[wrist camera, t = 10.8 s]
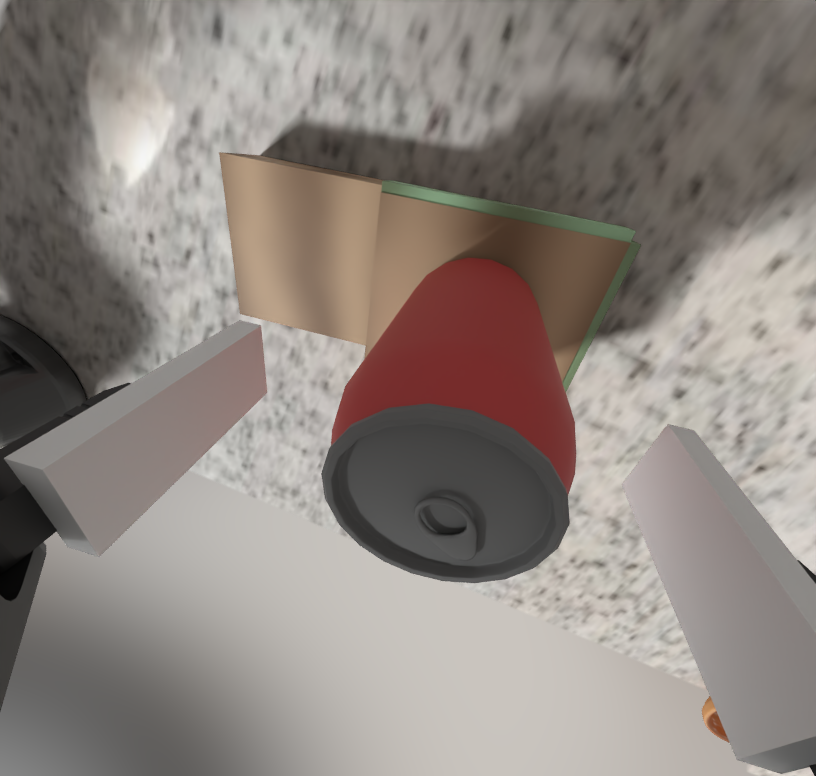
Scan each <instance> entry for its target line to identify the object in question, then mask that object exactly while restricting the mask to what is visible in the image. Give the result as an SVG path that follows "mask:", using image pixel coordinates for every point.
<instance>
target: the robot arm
mask: <svg viewBox="0 0 816 776" xmlns="http://www.w3.org/2000/svg"><path fill="white" fill-rule="evenodd" d="M266 393H267V385H266V374H265V364H264V353H263V342H262V331H261V325H257V324H253V323H249V322H245V321H241V320H239V321H238V322H236V323H234V324H232V325H231V326H229V327H227V328H226V329H224V330H222V331H220V332H219V333H217V334H215V335H214V336H212V337H210V338H208V339H207V340H205V341H203V342H202V343H200V344H198V345H196V346H195V347H193V348H191V349H190V350H188V351H186V352H184V353H183V354H181V355H179V356H178V357H176V358H174V359H172V360H171V361H169V362H167V363H166V364H164V365H162V366H161V367H159V368H157V369H155V370H154V371H152V372H150V373H149V374H147V375H145V376H143V377H142V378H140V379H138V380H137V381H135V382H133V383H126V384H123V385H120V386H117V387H114V388H111V389H108V390H105V391H103V392H101V393H99V394H97V395H96V396H94V397H92V398H90V399H88V400H87V401H86V397H85V394H84V391H83V389H82V387H81V385H80V383H79V381H78V380H77V378H76V376H75V375H74V373H73V372H72V371H71V369H70V368H69V367H68V365H67V364H66V363H65V362H64V361H63V360H62V358H61V357H60V356H59V355H58V354H57V353H56V352H55V351H54V350H53V349H52V348H51V347H50V346H48V345H47V344H46V343H45V342H44V341H43V340H41V339H40V338H39V337H38V336H36V335H35V334H34V333H32V332H31V331H29V330H28V329H26V328H25V327H23V326H21V325H20V324H18V323H16V322H14V321H12V320H10V319H8V318H5V317H3V316H0V448H1V449H0V711H1V707H2V704H3V700H4V697H5V693H6V690H7V686H8V683H9V680H10V676H11V673H12V669H13V666H14V662H15V659H16V655H17V653H18V649H19V646H20V642H21V639H22V635H23V632H24V628H25V625H26V622H27V618H28V615H29V612H30V608H31V605H32V601H33V598H34V594H35V591H36V587H37V584H38V581H39V577H40V574H41V571H42V567H43V563H44V560H45V557H46V545H45V544H44V543H43V542H44V541H45V540H46V539H47V538H49V537H50V536H51V535H52V534H53V533H55V532H56V531H57V533H58V534H59V536H60V537H61V538H62V540H63V541H64V543H65V544H66V545H67V547H69V548H72V549H75V550H78V551H82V552H85V553H88V554H91V555H94V556H97V557H100V556H101V555H102V554H103V553H104V552H105V551H106V550H107V549H108V548H109V547H110V546H111V545H112V544H113V543H114V542H115V541H116V540H117V539H118V538H119V537H120V536H121V535H122V534H123V533H124V532H125V531H126V530H127V529H128V528H129V527H130V526H131V525H132V524H133V523H134V522H135V521H137V519H139V517H140V516H142V515H143V514H144V513H145V512H146V511H147V510H148V509H149V508H150V507H151V506H152V505H153V504H154V503H155V502H156V501H157V500H158V499H159V498H160V497H161V496H162V495H163V494H164V493H165V492H166V491H167V490H168V489H169V488H170V487H171V486H172V485H173V484H174V483H175V482H176V481H177V480H178V479H179V478H180V477H181V476H182V475H183V474H184V473H186V471H188V470H189V469H190V468H191V467H192V466H193V465H194V464H195V463H196V462H197V461H198V460H199V459H200V458H201V457H202V456H203V455H204V454H205V453H206V452H207V451H208V450H209V449H210V448H211V447H212V446H213V445H214V444H215V443H216V442H217V441H218V440H219V439H220V438H221V437H222V436H223V435H224V434H225V433H226V432H227V431H228V430H229V429H230V428H231V427H232V426H234V425H235V424H236V423H237V422H238V421H239V420H240V419H241V418H242V417H243V416H244V415H245V414H246V413H247V412H248V411H249V410H250V409H251V408H252V407H253V406H254V405H255V404H256V403H257V402H258V401H259V400H260V399H261V398H262V397H263V396H264V395H265V394H266ZM2 447H3V448H2ZM622 487H623V489H624V492H625V494H626V497H627V499H628V501H629V504H630V506H631V509H632V511H633V513H634V516H635V518H636V520H637V523H638V525H639V528H640V530H641V532H642V535H643V537H644V540H645V542H646V544H647V547H648V549H649V551H650V554H651V556H652V559H653V561H654V563H655V566H656V568H657V571H658V573H659V575H660V578H661V580H662V582H663V585H664V587H665V590H666V592H667V594H668V597H669V599H670V601H671V604H672V606H673V609H674V611H675V613H676V616H677V618H678V621H679V623H680V625H681V628H682V630H683V632H684V635H685V637H686V640H687V642H688V644H689V647H690V649H691V652H692V654H693V656H694V659H695V661H696V663H697V666H698V668H699V671H700V673H701V675H702V678H703V680H704V683H705V685H706V687H707V690H708V692H709V694H710V697H711V699H712V702H713V704H714V706H715V709H716V711H717V714H718V716H719V718H720V721H721V723H722V725H723V728H724V730H725V733H726V735H727V737H728V740H729V742H730V745H731V747H732V749H733V752H734V754H735V756H736V759H737V760H739V761H743V762H746V763H749V764H752V765H755V766H758V767H761V768H764V769H768V770H771V771H774V772H777V773H780V774H782V773H787V772H791V771H795V770H799V769H803V768H807V767H810V768H811V770H812V772H813V773H814V775H815V776H816V575H814V574H813V573H812V572H811V571H810V570H809V569H808V568H807V567H806V566H804V565H803V564H802V563H801V562H800V561H799V560H796V558H795V557H794V556H793V555H792V553H791V552H790V551H789V550H788V548H787V547H786V546H785V544H784V543H783V542H782V541H781V539H780V538H779V537H778V536H777V534H776V533H775V532H774V531H773V529H772V528H771V527H770V525H769V524H768V523H767V522H766V520H765V519H764V518H763V517H762V515H761V514H760V513H759V512H758V510H757V509H756V508H755V507H754V505H753V504H752V503H751V501H750V500H749V499H748V498H747V496H746V495H745V494H744V493H743V491H742V490H741V489H740V488H739V486H738V485H737V484H736V483H735V481H734V480H733V479H732V477H731V476H730V475H729V474H728V472H727V471H726V470H725V469H724V467H723V466H722V465H721V464H720V462H719V461H718V460H717V459H716V457H715V456H714V455H713V453H712V452H711V451H710V450H709V448H708V447H707V446H706V445H705V443H704V442H703V441H702V440H701V438H700V437H699V436H698V435H697V433H696V432H695V431H694V430H690V429H686V428H682V427H678V426H674V425H669V424H668V425H667V426H666V427H665V429H664V430H663V431H662V432H661V434H660V435H659V436H658V438H657V439H656V440H655V442H654V443H653V444H652V445H651V447H650V448H649V449H648V451H647V452H646V453H645V455H644V456H643V457H642V459H641V460H640V461H639V462H638V464H637V465H636V466H635V468H634V469H633V470H632V472H631V473H630V474H629V475H628V477H627V478H626V479H625V481H624V482H623V483H622Z"/></svg>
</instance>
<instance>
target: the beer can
mask: <svg viewBox="0 0 816 776" xmlns="http://www.w3.org/2000/svg"><path fill="white" fill-rule="evenodd" d="M575 464H576V440H575V421H574V418H573V415H572V412H571V409H570V405H569V402H568V399H567V396H566V393H565V390H564V386H563V383H562V380H561V377H560V374H559V370H558V367H557V364H556V361H555V358H554V354H553V351H552V348H551V345H550V342H549V338H548V335H547V332H546V329H545V326H544V323H543V319H542V316H541V313H540V310H539V307H538V304H537V301H536V299H535V297H534V295H533V293H532V291H531V289H530V287H529V285H528V284H527V283H526V282H525V281H524V280H523V279H522V278H521V277H520V276H519V275H518V274H517V273H516V272H515V271H514V270H513V269H511V268H509V267H507V266H504V265H502V264H500V263H498V262H495V261H493V260H490V259H479V258H464V259H460V260H456V261H452V262H448V263H445V264H443V265H442V266H440V267H438V268H437V269H435V270H434V271H432V272H430V273H429V274H427V275H426V276H425V278H424V279H423V280H422V281H421V283H420V284H419V285H418V286H417V287H416V289H415V290H414V291H413V292H412V294H411V295H410V297H409V298H408V299H407V301H406V302H405V304H404V305H403V306H402V308H401V309H400V311H399V312H398V313H397V315H396V316H395V318H394V319H393V320H392V322H391V323H390V325H389V326H388V327H387V329H386V330H385V332H384V333H383V334H382V336H381V337H380V339H379V340H378V341H377V343H376V344H375V346H374V347H373V348H372V350H371V351H370V353H369V354H368V355H367V357H366V358H365V360H364V361H363V362H362V364H361V365H360V366H359V368H358V369H357V371H356V372H355V373H354V375H353V376H352V378H351V379H350V380H349V382H348V383H347V385H346V386H345V389H344V393H343V396H342V399H341V402H340V405H339V409H338V412H337V415H336V419H335V422H334V426H333V429H332V441H331V447H330V448H329V451H328V454H327V457H326V461H325V464H324V467H323V470H322V480H323V488H324V495H325V499H326V501H327V503H328V505H329V506H330V508H331V510H332V512H333V514H334V516H335V517H336V519H337V521H338V523H339V525H340V526H341V527H342V528H343V529H344V530H345V531H346V532H347V533H348V534H349V535H350V536H351V537H352V538H353V539H354V540H355V541H356V542H357V543H358V544H359V545H360V546H362V547H363V548H365V549H366V550H368V551H369V552H371V553H372V554H374V555H375V556H377V557H378V558H380V559H381V560H383V561H385V562H387V563H389V564H391V565H394V566H396V567H399V568H401V569H403V570H406V571H408V572H410V573H413V574H417V575H421V576H425V577H429V578H433V579H437V580H441V581H451V582H466V583H479V582H487V581H495V580H503V579H507V578H510V577H512V576H515V575H517V574H520V573H523V572H525V571H528V570H530V569H533V568H534V567H536V566H537V565H538V564H540V563H541V562H542V561H543V560H544V559H546V558H547V557H548V556H549V555H550V554H552V553H553V552H554V551H555V550H556V549H558V547H559V545H560V543H561V541H562V539H563V536H564V534H565V532H566V530H567V528H568V526H569V524H570V523H569V508H568V494H569V491H570V488H571V485H572V481H573V478H574V475H575Z"/></svg>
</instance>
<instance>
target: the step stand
mask: <svg viewBox="0 0 816 776" xmlns="http://www.w3.org/2000/svg"><path fill="white" fill-rule="evenodd" d="M219 154H220V161H221V169H222V177H223V185H224V192H225V200H226V208H227V216H228V223H229V231H230V239H231V247H232V254H233V262H234V270H235V278H236V285H237V293H238V301H239V309H240V314H243V315H247V316H251V317H255V318H259V319H263V320H267V321H271V322H275V323H279V324H282V325H286V326H290V327H294V328H298V329H302V330H306V331H310V332H314V333H318V334H322V335H326V336H330V337H334V338H338V339H342V340H346V341H350V342H354V343H358V344H362V345H366V348H365V358H366V357H367V355H368V354H369V353H370V351H371V350H372V348H373V347H374V346H375V344H376V343H377V341H378V340H379V339H380V337H381V336H382V334H383V333H384V332H385V330H386V329H387V327H388V326H389V325H390V323H391V322H392V320H393V319H394V318H395V316H396V315H397V313H398V312H399V311H400V309H401V308H402V306H403V305H404V304H405V302H406V301H407V299H408V298H409V297H410V295H411V294H412V292H413V291H414V290H415V289H416V287H417V286H418V285H419V284H420V283H421V281H422V280H423V279H424V278H425V276H426V275H427V274H429V273H430V272H432V271H434V270H435V269H437V268H438V267H440V266H442V265H443V264H445V263H448V262H452V261H456V260H460V259H464V258H479V259H490V260H493V261H495V262H498V263H500V264H502V265H504V266H507V267H509V268H511V269H513V270H514V271H515V272H516V273H517V274H518V275H519V276H520V277H521V278H522V279H523V280H524V281H525V282H526V283H527V284H528V285H529V287H530V289H531V291H532V293H533V295H534V297H535V299H536V301H537V304H538V307H539V310H540V313H541V316H542V319H543V323H544V326H545V329H546V332H547V335H548V338H549V342H550V345H551V348H552V351H553V354H554V358H555V361H556V364H557V367H558V370H559V374H560V377H561V380H562V383H563V386H564V390H565V393H566V391H567V389H568V387H569V385H570V383H571V381H572V379H573V377H574V375H575V373H576V371H577V369H578V367H579V365H580V363H581V362H582V360H583V358H584V356H585V354H586V352H587V350H588V348H589V346H590V344H591V342H592V340H593V338H594V336H595V334H596V332H597V330H598V328H599V326H600V324H601V323H602V321H603V319H604V317H605V315H606V313H607V311H608V309H609V307H610V305H611V303H612V301H613V299H614V297H615V295H616V293H617V291H618V289H619V287H620V285H621V284H622V282H623V280H624V278H625V276H626V274H627V272H628V270H629V268H630V266H631V264H632V262H633V260H634V258H635V256H636V254H637V252H638V250H639V248H640V246H641V244H639V243H637V242H635V241H633V240H632V238H633V236H634V234H635V232H636V231H634V230H632V229H629V228H627V227H624V226H619V225H614V224H609V223H604V222H599V221H594V220H589V219H584V218H578V217H573V216H568V215H563V214H558V213H553V212H548V211H543V210H538V209H533V208H528V207H523V206H518V205H513V204H508V203H503V202H498V201H493V200H488V199H483V198H478V197H473V196H468V195H463V194H458V193H452V192H447V191H442V190H437V189H432V188H427V187H422V186H417V185H412V184H407V183H402V182H397V181H392V180H386V181H385V180H380V179H375V178H370V177H365V176H360V175H355V174H350V173H345V172H340V171H335V170H330V169H325V168H320V167H315V166H310V165H305V164H300V163H295V162H290V161H285V160H280V159H275V158H270V157H265V156H260V155H247V154H233V153H220V152H219ZM364 360H365V359H364Z"/></svg>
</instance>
